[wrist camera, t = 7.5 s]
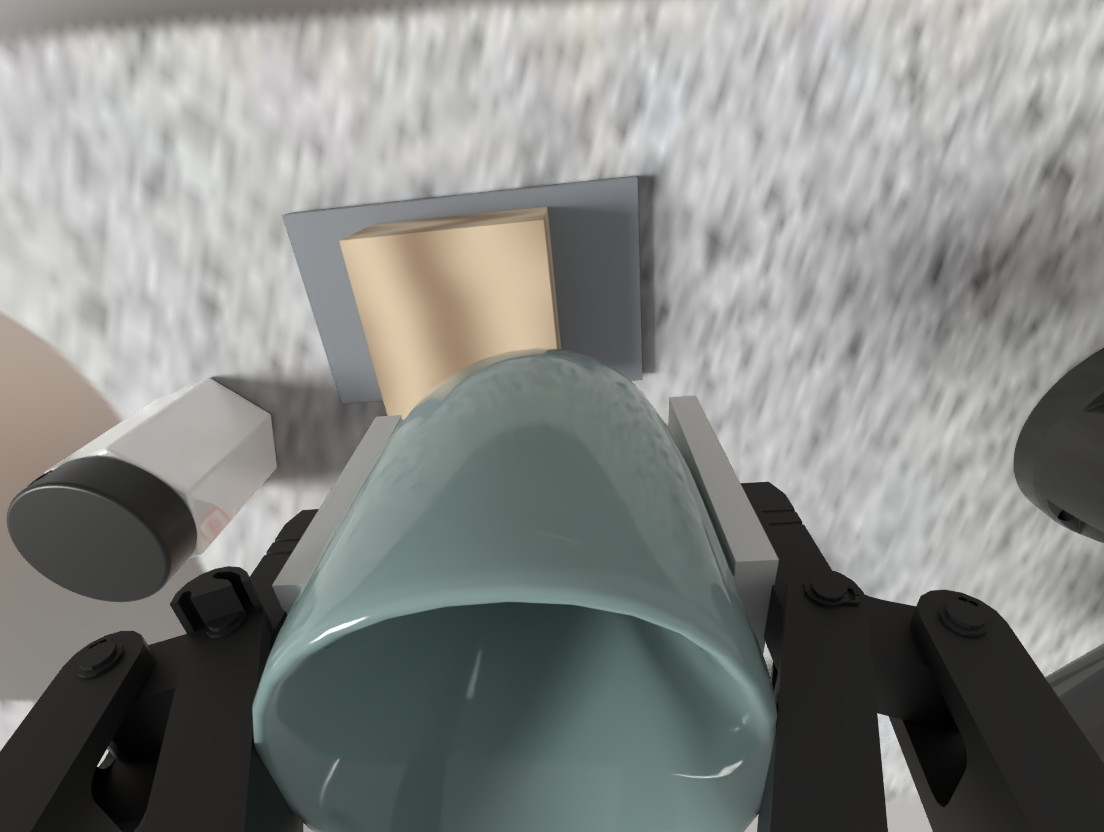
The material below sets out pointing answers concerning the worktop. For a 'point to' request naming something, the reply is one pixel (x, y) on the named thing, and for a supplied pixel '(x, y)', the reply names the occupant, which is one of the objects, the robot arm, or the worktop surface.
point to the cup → (521, 626)
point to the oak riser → (451, 295)
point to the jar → (145, 494)
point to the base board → (573, 210)
